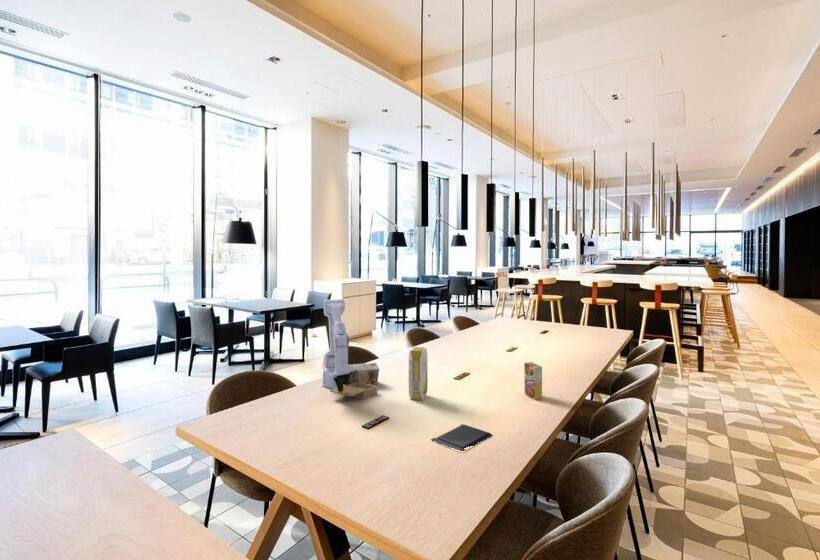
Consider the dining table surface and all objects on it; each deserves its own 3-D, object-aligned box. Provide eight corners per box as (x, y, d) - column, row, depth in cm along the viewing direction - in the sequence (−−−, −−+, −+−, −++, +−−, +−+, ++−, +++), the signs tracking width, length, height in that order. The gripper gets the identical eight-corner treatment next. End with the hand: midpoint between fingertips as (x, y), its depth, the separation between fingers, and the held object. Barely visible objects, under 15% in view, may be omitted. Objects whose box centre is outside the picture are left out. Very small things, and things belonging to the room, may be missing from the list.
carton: (342, 394, 210) (342, 386, 210) (356, 388, 218) (356, 381, 218) (363, 399, 203) (363, 391, 202) (377, 393, 211) (377, 386, 211)
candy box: (523, 394, 209) (523, 362, 208) (531, 393, 210) (531, 361, 209) (534, 400, 200) (534, 367, 199) (542, 399, 202) (542, 366, 201)
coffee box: (377, 384, 226) (346, 386, 220) (374, 377, 232) (344, 379, 226) (379, 368, 223) (348, 371, 217) (376, 361, 229) (345, 364, 223)
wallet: (461, 449, 149) (428, 436, 159) (461, 455, 149) (428, 441, 159) (495, 432, 163) (462, 420, 173) (495, 437, 163) (462, 425, 174)
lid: (329, 391, 203) (329, 382, 203) (345, 385, 211) (344, 377, 211) (351, 396, 195) (351, 387, 195) (366, 390, 204) (366, 381, 204)
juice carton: (424, 401, 200) (424, 348, 198) (407, 400, 201) (407, 348, 200) (428, 394, 209) (428, 344, 207) (411, 393, 210) (411, 343, 209)
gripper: (336, 366, 191) (337, 396, 192) (358, 359, 203) (359, 388, 204) (325, 363, 195) (325, 393, 195) (347, 356, 207) (347, 385, 208)
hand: (341, 390), depth 200 cm, fingers closed on lid
